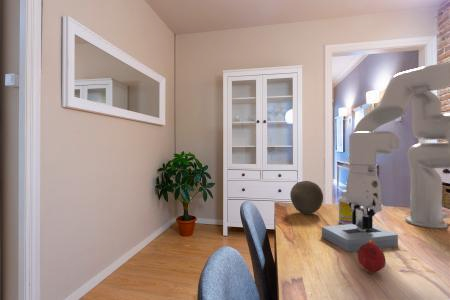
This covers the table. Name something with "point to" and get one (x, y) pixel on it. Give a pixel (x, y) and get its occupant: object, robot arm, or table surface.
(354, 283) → the table surface
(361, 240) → the keyhole plate
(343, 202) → the supplement bottle
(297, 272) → the table surface
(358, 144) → the robot arm
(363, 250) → the onion
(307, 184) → the dark brown ball
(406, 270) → the table surface
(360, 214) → the stud
